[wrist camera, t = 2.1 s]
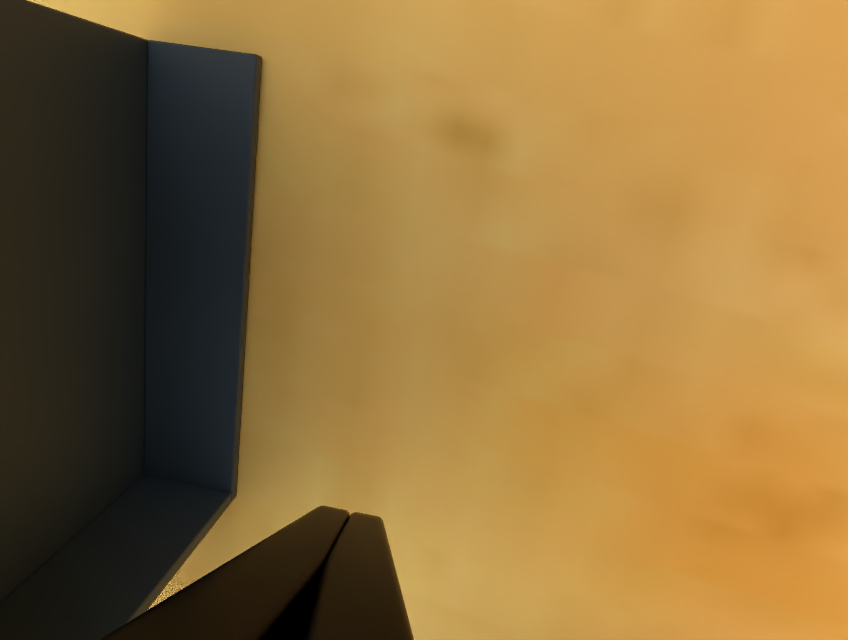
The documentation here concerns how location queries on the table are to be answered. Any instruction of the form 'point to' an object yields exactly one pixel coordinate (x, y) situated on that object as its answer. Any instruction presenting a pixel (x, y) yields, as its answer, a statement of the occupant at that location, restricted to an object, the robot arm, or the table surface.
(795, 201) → the table surface
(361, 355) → the table surface
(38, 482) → the dustpan
